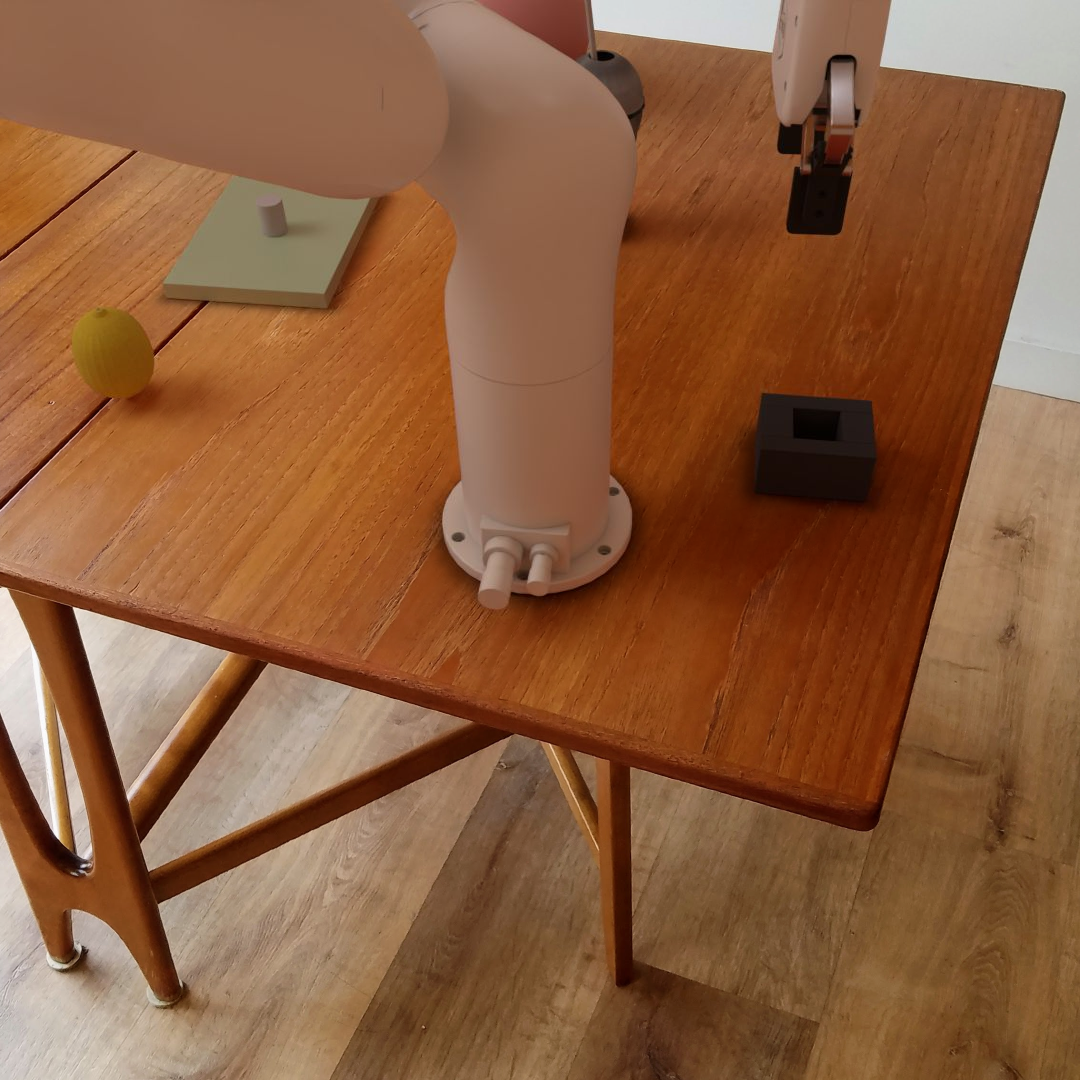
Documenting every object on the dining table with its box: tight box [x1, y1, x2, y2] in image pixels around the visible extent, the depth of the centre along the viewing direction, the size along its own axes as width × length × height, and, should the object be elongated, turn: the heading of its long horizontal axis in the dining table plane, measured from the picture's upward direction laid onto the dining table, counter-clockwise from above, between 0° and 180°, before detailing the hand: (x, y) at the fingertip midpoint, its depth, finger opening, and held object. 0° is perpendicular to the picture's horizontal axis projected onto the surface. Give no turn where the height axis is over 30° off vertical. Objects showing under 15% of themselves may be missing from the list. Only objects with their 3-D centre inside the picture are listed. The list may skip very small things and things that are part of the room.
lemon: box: [71, 306, 155, 400], centre depth 85 cm, size 6×6×8 cm
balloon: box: [475, 0, 589, 61], centre depth 114 cm, size 15×20×15 cm
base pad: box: [161, 175, 380, 310], centre depth 101 cm, size 18×14×4 cm
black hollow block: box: [753, 392, 878, 503], centre depth 79 cm, size 6×8×4 cm
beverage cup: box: [576, 0, 646, 229], centre depth 96 cm, size 7×7×20 cm
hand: (806, 190), depth 71 cm, fingers open, 9 cm apart
